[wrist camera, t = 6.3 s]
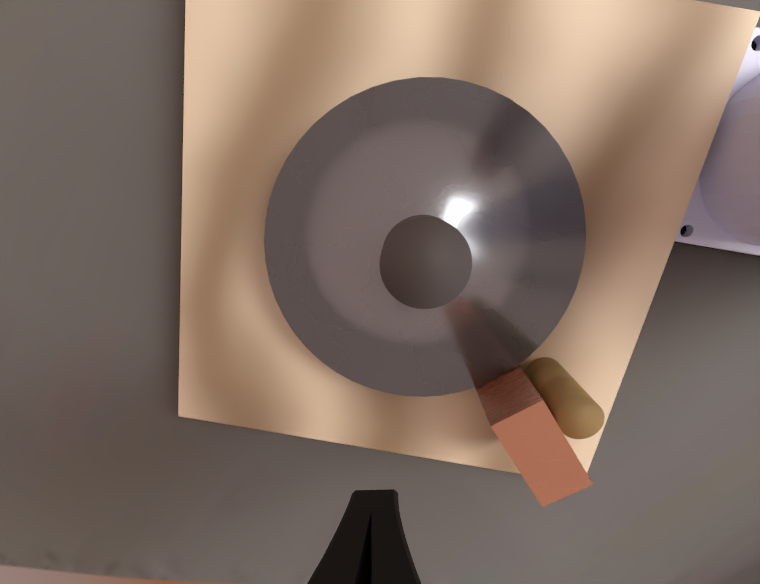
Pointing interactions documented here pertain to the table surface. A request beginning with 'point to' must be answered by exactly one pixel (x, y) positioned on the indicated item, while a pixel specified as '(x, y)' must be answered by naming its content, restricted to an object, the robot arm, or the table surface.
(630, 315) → the base plate
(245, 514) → the table surface
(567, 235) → the flange
